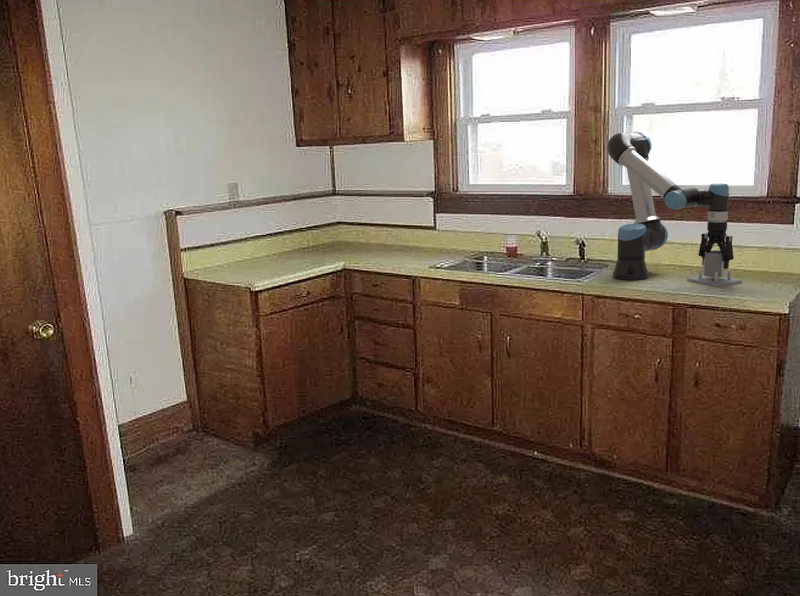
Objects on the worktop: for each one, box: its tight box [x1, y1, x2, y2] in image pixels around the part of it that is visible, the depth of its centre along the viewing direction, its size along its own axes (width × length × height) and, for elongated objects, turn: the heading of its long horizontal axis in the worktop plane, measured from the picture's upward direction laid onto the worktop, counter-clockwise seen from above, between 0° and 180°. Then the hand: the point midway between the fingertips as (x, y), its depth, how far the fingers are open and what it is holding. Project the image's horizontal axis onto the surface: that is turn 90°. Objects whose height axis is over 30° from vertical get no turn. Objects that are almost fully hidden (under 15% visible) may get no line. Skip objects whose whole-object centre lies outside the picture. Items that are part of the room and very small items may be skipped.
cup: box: [703, 250, 723, 277], centre depth 299 cm, size 8×8×10 cm
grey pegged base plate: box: [686, 269, 743, 288], centre depth 300 cm, size 16×14×5 cm
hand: (714, 274), depth 300 cm, fingers closed on cup, 8 cm apart
